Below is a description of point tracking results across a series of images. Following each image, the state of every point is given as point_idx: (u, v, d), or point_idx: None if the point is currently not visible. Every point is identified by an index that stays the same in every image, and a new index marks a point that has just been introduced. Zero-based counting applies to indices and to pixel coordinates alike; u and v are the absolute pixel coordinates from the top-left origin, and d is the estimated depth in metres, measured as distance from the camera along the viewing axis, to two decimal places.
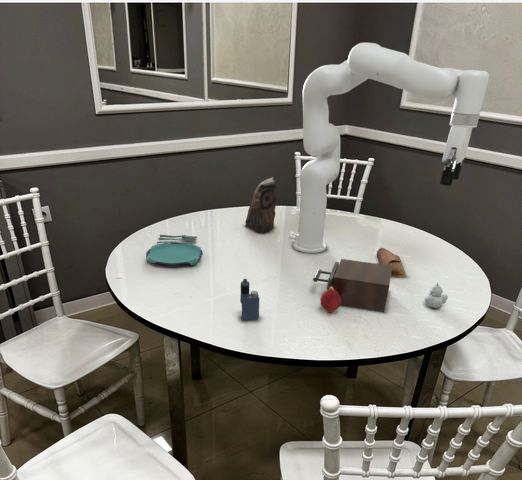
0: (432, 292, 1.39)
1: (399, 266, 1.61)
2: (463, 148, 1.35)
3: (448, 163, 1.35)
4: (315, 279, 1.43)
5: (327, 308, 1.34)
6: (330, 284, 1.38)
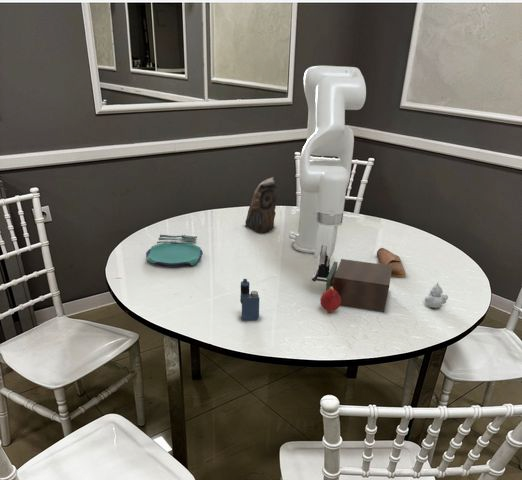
0: (432, 292, 1.39)
1: (399, 266, 1.61)
2: (332, 245, 1.35)
3: None
4: (314, 279, 1.43)
5: (327, 308, 1.34)
6: (329, 284, 1.39)
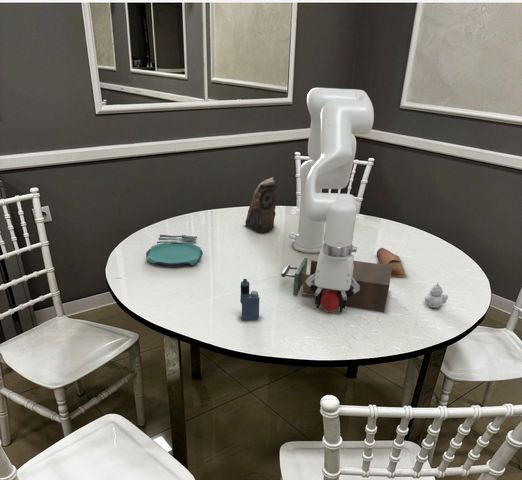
0: (432, 292, 1.39)
1: (399, 266, 1.61)
2: (320, 274, 1.29)
3: None
4: (283, 274, 1.45)
5: (327, 308, 1.34)
6: (297, 279, 1.41)
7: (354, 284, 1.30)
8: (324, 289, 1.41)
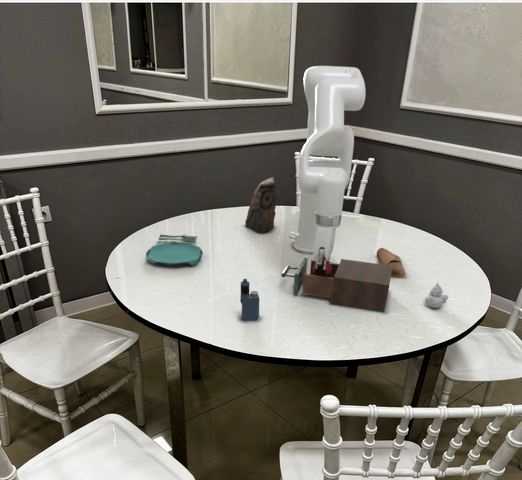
0: (432, 292, 1.39)
1: (398, 266, 1.61)
2: (330, 247, 1.36)
3: (319, 265, 1.37)
4: (283, 274, 1.45)
5: (329, 274, 1.44)
6: (297, 279, 1.41)
7: None
8: (324, 289, 1.41)
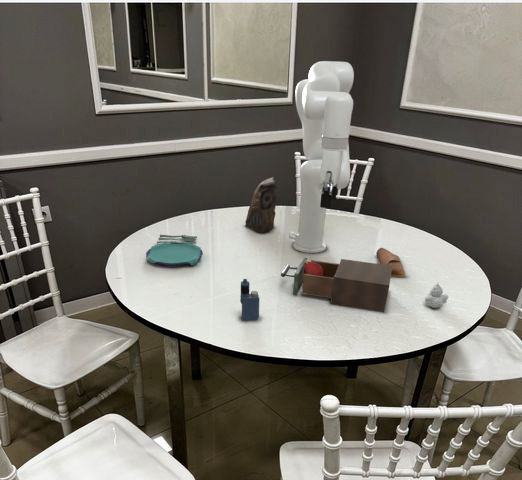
0: (432, 292, 1.39)
1: (398, 266, 1.61)
2: (337, 171, 1.36)
3: (325, 187, 1.35)
4: (283, 274, 1.45)
5: (322, 272, 1.45)
6: (296, 279, 1.41)
7: None
8: (324, 289, 1.41)
